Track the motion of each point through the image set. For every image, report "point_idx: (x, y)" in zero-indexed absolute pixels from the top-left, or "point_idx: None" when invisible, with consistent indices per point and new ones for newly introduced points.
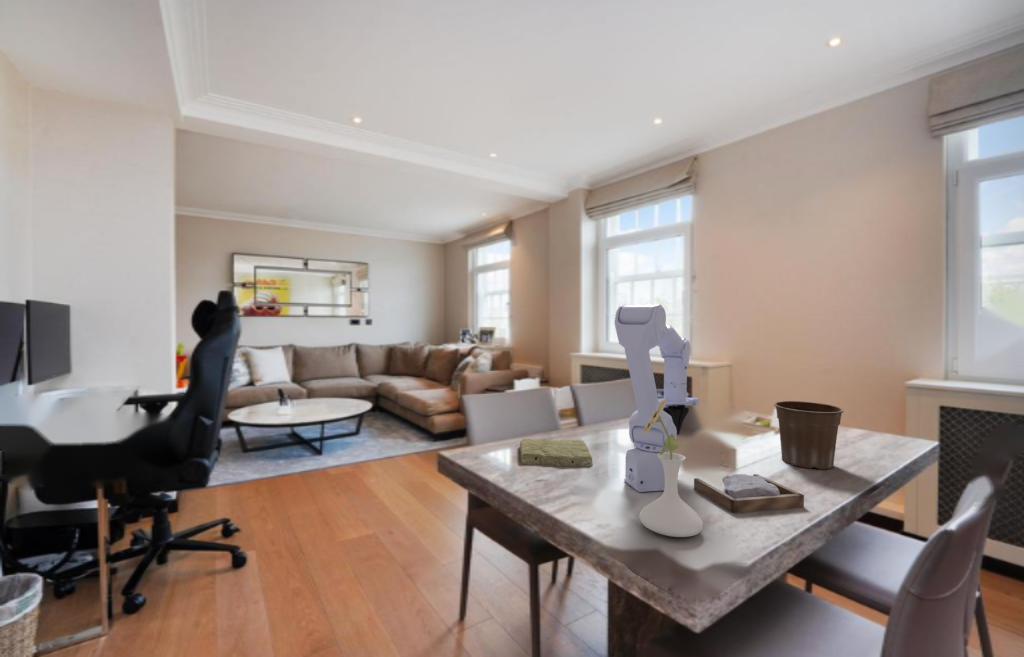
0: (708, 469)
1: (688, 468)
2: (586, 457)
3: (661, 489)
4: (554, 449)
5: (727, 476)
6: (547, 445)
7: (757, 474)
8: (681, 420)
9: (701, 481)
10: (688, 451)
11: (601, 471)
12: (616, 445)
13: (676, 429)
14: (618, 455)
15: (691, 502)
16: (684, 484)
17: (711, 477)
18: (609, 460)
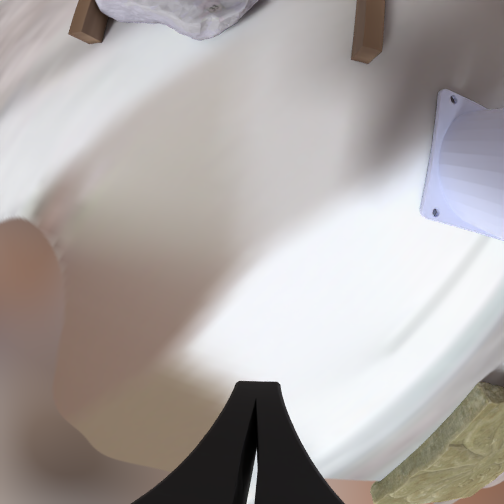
0: (125, 233)
1: (197, 273)
2: (496, 401)
3: (487, 109)
4: (500, 446)
5: (210, 12)
6: (487, 466)
7: (70, 29)
8: (216, 466)
9: (376, 14)
10: (88, 398)
11: (498, 337)
12: None
13: (275, 407)
14: (340, 445)
15: (447, 5)
16: (367, 117)
17: (184, 144)
18: (404, 416)
